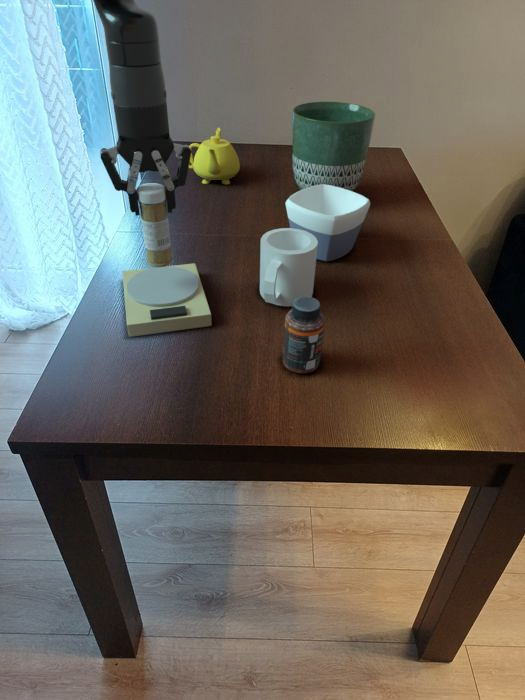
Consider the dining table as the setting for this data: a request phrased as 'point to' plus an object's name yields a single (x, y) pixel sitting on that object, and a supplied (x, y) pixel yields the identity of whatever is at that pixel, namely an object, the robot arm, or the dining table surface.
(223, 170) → the teapot
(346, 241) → the bowl
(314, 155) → the planter
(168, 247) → the sprinkles bottle
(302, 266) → the mug
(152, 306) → the scale
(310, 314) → the supplement bottle
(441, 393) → the dining table surface
